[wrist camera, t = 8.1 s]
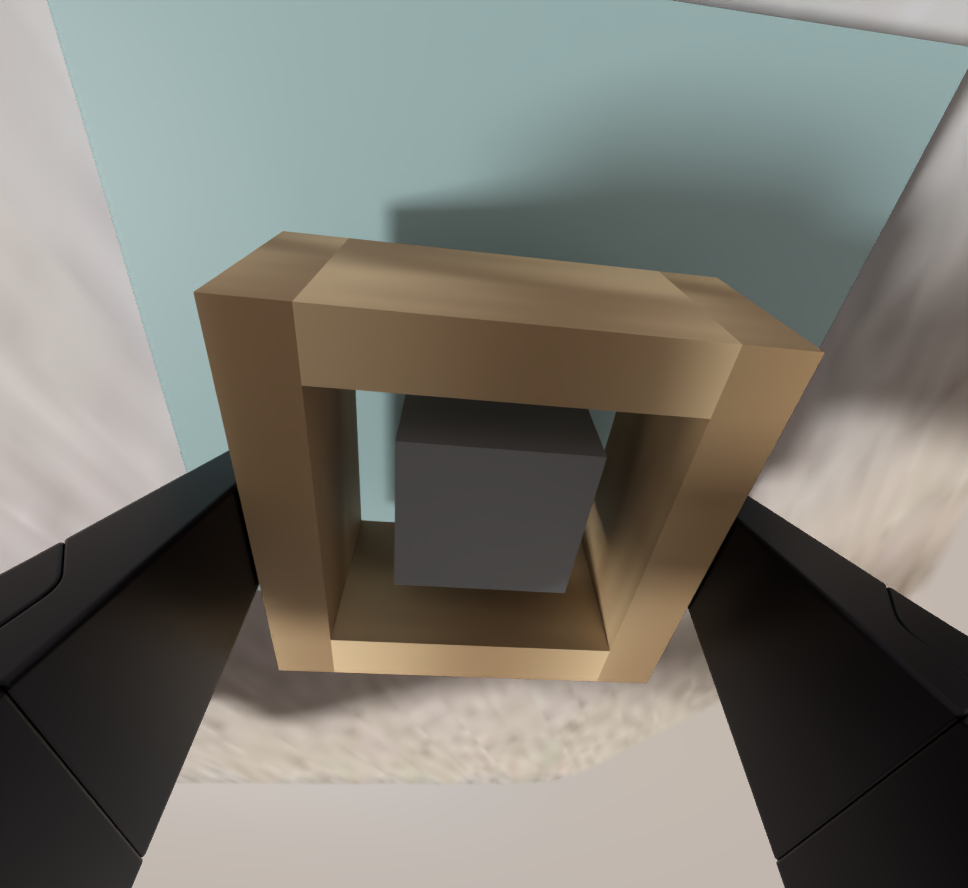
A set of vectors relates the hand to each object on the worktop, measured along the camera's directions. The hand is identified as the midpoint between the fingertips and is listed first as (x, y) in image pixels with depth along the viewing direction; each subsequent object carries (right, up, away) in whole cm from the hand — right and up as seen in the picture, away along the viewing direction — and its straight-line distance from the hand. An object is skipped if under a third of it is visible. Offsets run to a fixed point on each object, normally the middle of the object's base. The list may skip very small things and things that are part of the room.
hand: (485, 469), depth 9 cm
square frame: (0, +1, +1) cm, 1 cm away
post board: (0, +2, +3) cm, 4 cm away
